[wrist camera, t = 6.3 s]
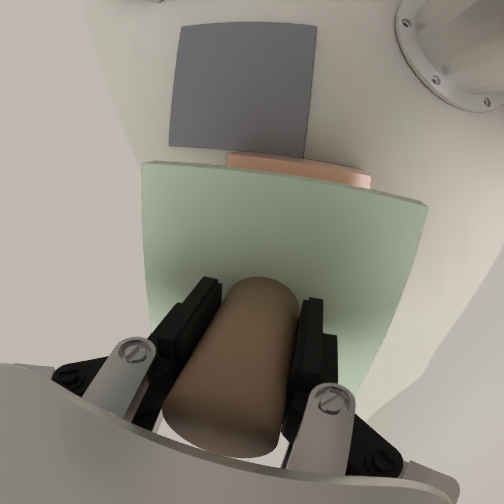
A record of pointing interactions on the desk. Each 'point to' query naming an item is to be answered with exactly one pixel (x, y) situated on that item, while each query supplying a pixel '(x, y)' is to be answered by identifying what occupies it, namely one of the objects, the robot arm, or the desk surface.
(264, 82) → the mat
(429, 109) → the desk surface
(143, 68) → the desk surface
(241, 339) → the lid
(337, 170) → the dish
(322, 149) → the desk surface
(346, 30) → the desk surface
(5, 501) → the robot arm
